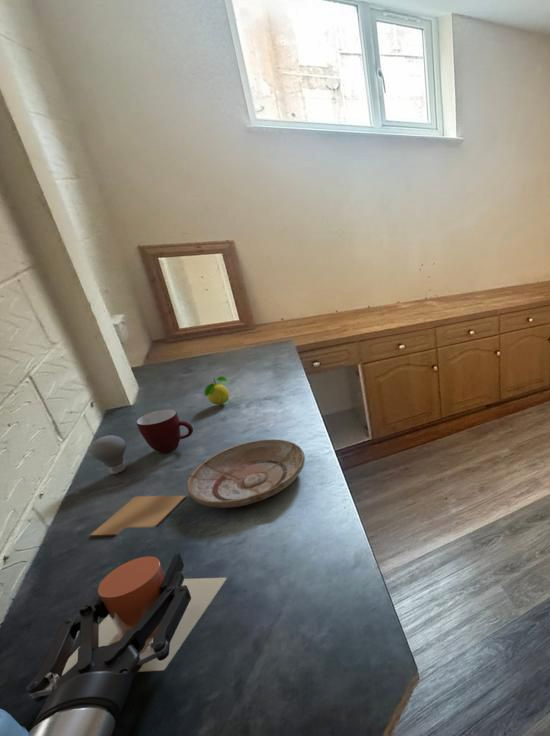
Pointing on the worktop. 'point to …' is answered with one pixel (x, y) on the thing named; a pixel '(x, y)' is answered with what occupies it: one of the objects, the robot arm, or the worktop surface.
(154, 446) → the mug
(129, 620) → the terracotta cylinder
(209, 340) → the worktop surface
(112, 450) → the light bulb
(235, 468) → the ceramic bowl
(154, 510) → the cork mat
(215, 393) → the lemon
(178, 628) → the beige paper sheet
